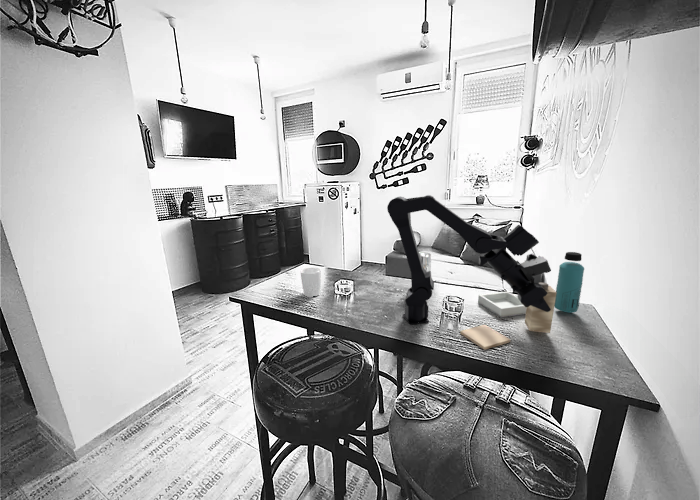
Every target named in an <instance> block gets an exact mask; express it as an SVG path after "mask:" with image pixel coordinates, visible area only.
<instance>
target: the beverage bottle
mask: <svg viewBox="0 0 700 500" xmlns="http://www.w3.org/2000/svg"><path fill="white" fill-rule="evenodd" d="M564 260H566V261H564V262H562V263H561V264H560V265H559V269H558V275H557V283H556V285H555V287H556V288H555V291H556V292H557V293H556V299H555V306H554V309H556V310H558V311H561V312H565V313H573V314H574V313H577V312H578V311H579V310H578V309H579V308H580V301H581V299H580V298H581V293H582V286H583V281H584V272H585V267H584V266H583V265H582V264H581V263H579V262H581V261H582V253H580V252H577V251H567V252H565V255H564Z"/></svg>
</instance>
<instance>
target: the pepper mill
mask: <svg viewBox="0 0 700 500" xmlns="http://www.w3.org/2000/svg"><path fill="white" fill-rule="evenodd" d="M538 283H539V284H540V285H541V286H542V287H543V288H544V289H545V290H546V291H547V295H546V296H544V297H543V298H544V299H545V301H546V303H547V304H548V306H549V307H550V309H551V310H550V311H549V312H546V311H543V310H541V309H538V308H536V307H533V306H531V305H530V306H529V307H527V309H526V314H525V316H524V324H525V325H526V327H527V329H528V331H529V332H537V333H545V334H551V329H552V324H553V319H554V312H555V311H554V310H555V299H556V293H557V292H556V289H554V288H553V287H552V286H551V285H549V284H548V283H546V282H538Z"/></svg>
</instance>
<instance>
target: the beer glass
mask: <svg viewBox="0 0 700 500" xmlns="http://www.w3.org/2000/svg"><path fill="white" fill-rule="evenodd" d="M419 254H420V258H421V261H422V265H423V267H424V269H425V271H426V272H428V271H431V272H432V254H431V253H429V252H425V251H424V252H423V251H420V252H419Z"/></svg>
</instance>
